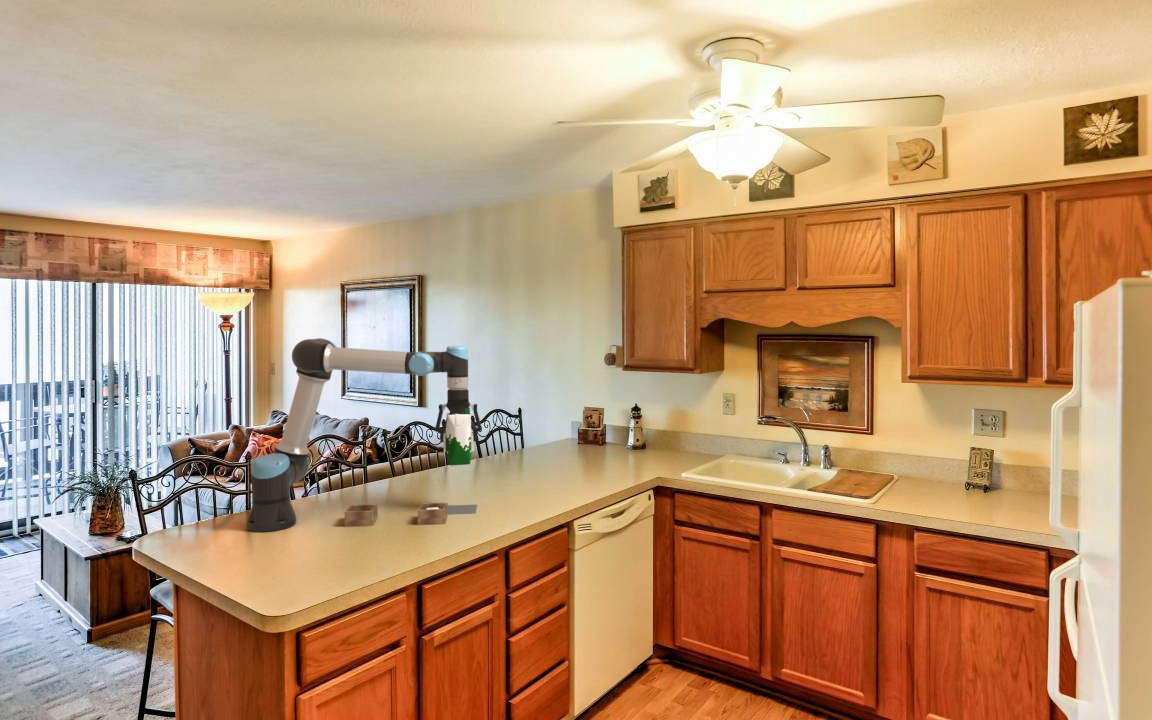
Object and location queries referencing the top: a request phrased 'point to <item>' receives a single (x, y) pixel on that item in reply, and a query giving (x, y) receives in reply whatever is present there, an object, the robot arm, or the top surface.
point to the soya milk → (458, 438)
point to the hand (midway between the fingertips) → (458, 450)
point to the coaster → (462, 509)
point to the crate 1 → (361, 515)
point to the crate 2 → (432, 514)
